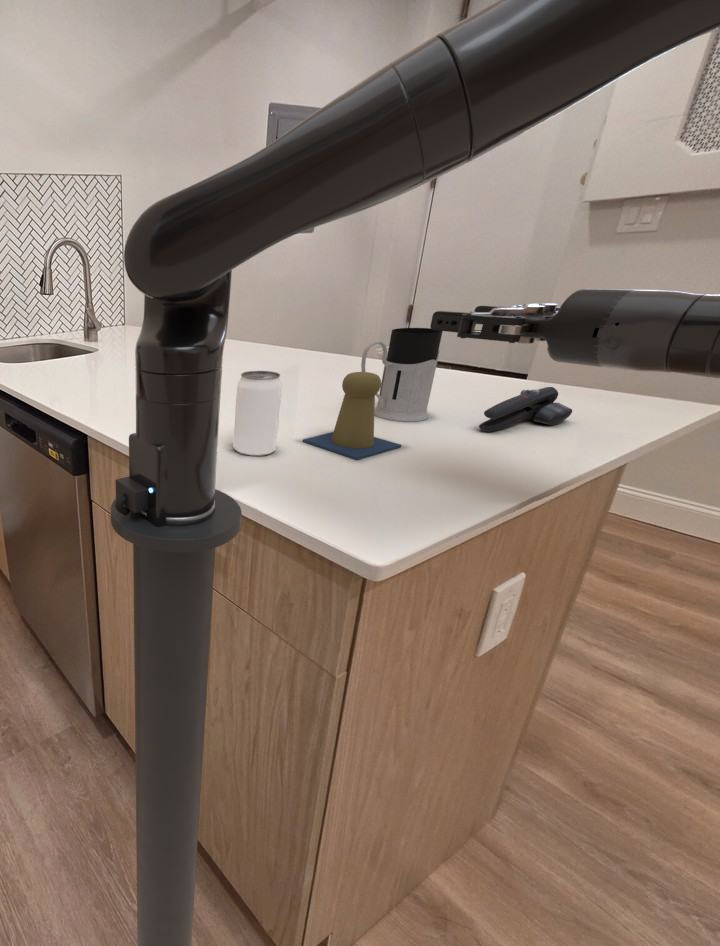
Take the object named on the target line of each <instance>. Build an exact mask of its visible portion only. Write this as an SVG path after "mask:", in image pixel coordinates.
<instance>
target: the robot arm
mask: <svg viewBox="0 0 720 946" xmlns="http://www.w3.org/2000/svg"><path fill="white" fill-rule="evenodd" d="M719 28H720V0H496V1H494V2H493V3H490V4H489V5H487V6H485V7H483V8H481V9H480V10H478V11H476V12H475V13H473V14H471V15H469V16H468V17H465V18H464V19H462V20H460V21H459V22H457V23H455V24H453V25H451V26H449V27H448V28H446V29H444V30H442V31H440V32H439V33H437V34H436V35H434V36H432V37H429V39H427V40H425V41H424V42H422V43H420V44H419V45H417V46H416V47H414V48H413V49H411V50H409V51H408V52H406V53H404V54H403V55H400V56H399V57H397V58H395V59H394V60H393V61H391V62H390V63H388V64H386V65H385V66H383V67H381V68H380V69H378V70H377V71H375V72H374V73H372V74H370V75H369V76H367V77H366V78H365V79H363V80H362V81H360V82H358V83H357V84H355V85H354V86H353V87H351V88H350V89H347V90H346V91H345V92H344V93H342V94H340V95H339V96H337V97H336V98H334V99H333V100H331V101H330V102H328V103H327V104H325V105H324V106H322V107H321V108H319V109H318V110H316V111H315V112H314V113H312V114H310V115H309V116H308V117H306V118H305V119H303V120H302V121H300V122H299V123H297V124H296V125H295V126H293V127H292V128H291V129H289V130H288V131H286V132H284V134H282V135H281V136H280V137H278V138H277V139H275V140H274V141H272V142H271V143H269V144H268V145H266V146H265V147H264V148H262V149H260V150H258V151H256V152H255V153H253V154H251V155H250V156H248V157H247V158H244V159H242V160H241V161H239V162H238V163H235V164H233V165H231V166H229V167H227V168H226V169H223V170H221V171H219V172H217V173H215V174H213V175H210V176H209V177H207V178H205V179H203V180H200V181H198V182H196V183H194V184H192V185H189V186H187V187H185V188H182V189H181V190H179V191H177V192H174V193H172V194H170V195H167V196H165V197H163V198H161V199H159V200H157V201H156V202H154V203H153V204H151V205H149V206H148V207H147V208H146V209H144V211H143V212H142V213H141V214H140V215H139V216H138V217H137V219H136V221H134V223H133V225H132V227H131V228H130V230H129V232H128V234H127V238H126V241H125V244H124V248H123V249H124V251H123V264H124V268H125V272H126V275H127V278H128V279H129V280H130V282H131V283H132V285H133V287H134V288H136V289H137V290H138V292H140V293H142V294H143V297H144V298H143V319H142V324H141V329H140V332H139V335H138V338H137V340H136V343H135V349H134V350H135V351H134V353H135V354H134V355H135V356H134V357H135V359H134V361H135V363H134V364H135V432H133V433H130V434H129V436H128V476H124V477H121V478H117V479H115V499H116V502H115V507H116V510H117V511H118V512H120V513H122V514H123V515H128V514H129V512H130V510H131V511H133V512H134V513H138V514H139V515H140V516H141V517H143V518H144V519H146V520H147V521H149V522H150V523H151V524H153V525H154V526H156V527H162V526H166V525H170V526H186V525H193V524H197V523H201V522H203V521H206V520H207V519H209V518H210V517H211V516H212V515H213V514H214V512H215V500H214V497H215V489H216V479H217V463H218V462H217V461H218V446H219V445H218V444H219V429H220V428H219V427H220V409H221V394H222V393H221V392H222V379H223V378H222V377H223V376H222V375H223V360H224V359H223V356H224V349H225V343H226V340H227V339H226V338H227V333H228V328H229V327H228V325H229V314H230V312H229V311H230V301H231V290H232V289H231V287H232V274H233V273H232V272H233V270H234V269H236V268H237V267H239V266H240V265H242V264H244V263H245V262H247V261H249V260H250V259H252V258H254V257H256V256H257V255H259V254H261V253H262V252H264V251H265V250H268V249H270V248H271V247H273V246H274V245H276V244H278V243H281V242H283V241H285V240H287V239H289V238H291V237H293V236H295V235H298V234H300V233H302V232H305V231H308V230H310V229H311V230H312V229H314V228H317V227H320V226H322V225H325V224H329V223H332V222H334V221H337V220H340V219H343V218H346V217H349V216H352V215H355V214H357V213H359V212H363V211H365V210H368V209H370V208H374V207H375V206H377V205H379V204H382V203H385V202H387V201H390V200H393V199H394V198H397V197H399V196H402V195H404V194H406V193H408V192H409V193H410V191H414V190H415V189H417V188H419V187H421V186H424V185H426V184H428V183H430V182H432V181H433V180H436V179H438V178H440V177H442V176H444V175H446V174H448V173H450V172H452V171H453V170H454V171H455V170H456V169H458V168H460V167H462V166H464V165H466V164H468V163H470V162H472V161H474V160H476V159H477V158H479V157H481V156H483V155H485V154H487V153H489V152H490V151H492V150H494V149H496V148H498V147H499V146H502V145H504V144H506V143H507V142H510V141H511V140H513V139H515V138H517V137H519V136H520V135H523V134H524V133H526V132H528V131H530V130H531V129H533V128H535V127H537V126H538V125H540V124H542V123H544V122H546V121H548V120H550V119H551V118H553V117H555V116H557V115H558V114H560V113H562V112H564V111H565V110H567V109H569V108H571V107H572V106H574V105H576V104H577V103H579V102H581V101H583V100H584V99H586V98H588V97H590V96H591V95H594V93H596V92H598V91H600V90H602V89H603V88H604V87H606V86H609V85H610V84H612V83H613V82H615V81H617V80H619V79H620V78H621V77H623V76H625V75H627V74H629V73H631V72H632V71H634V70H636V69H638V68H639V67H641V66H643V65H644V64H646V63H648V62H650V61H652V60H654V59H656V58H658V57H660V56H662V55H664V54H666V53H668V52H670V51H672V50H674V49H676V48H678V47H680V46H682V45H684V44H686V43H688V42H691V41H693V40H695V39H697V38H699V37H701V36H703V35H705V34H707V33H710V32H713V31H715V30H718V29H719ZM476 325H482V327H481V329H476ZM429 328H431V329H432V330H437V331H443V332H448V333H456V334H457V335H456V337H457V338H460V339H474V340H484V341H485V340H486V341H494V342H495V341H496V342H504V343H505V342H507V343H509V344H515V343H518V344H535V342H546V344H547V353H548V356H549V357H550V359H552V361H555V362H557V363H565V364H573V365H582V366H589V367H599V368H605V369H613V370H622V371H630V372H642V373H643V372H644V373H645V372H647V373H649V372H650V373H671V374H679V375H687V376H694V377H701V378H702V377H704V378H712V379H720V294H706V293H705V294H703V293H694V292H693V293H692V292H685V291H677V290H663V289H661V290H659V289H624V288H623V289H621V288H618V289H617V288H581V289H578V290H576V291H574V292H573V293H571V294H569V296H568V297H567V298H566V299H565V300H564V301H563V303H561V305H560V306H558V303H523V304H516V305H513V306H501V305H500V306H497V305H478V306H476V307H475V308H474V311H473V310H472V311H471V310H470V311H469V312H463V311H462V312H461V311H447V310H437V311H435V312H433V314H432V317H431V321H430V326H429ZM123 505H125V506H126V507H125V506H123ZM128 508H129V509H130V510H129V509H128Z"/></svg>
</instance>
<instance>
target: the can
mask: <svg viewBox="0 0 720 946" xmlns="http://www.w3.org/2000/svg"><path fill="white" fill-rule="evenodd" d="M282 390H283V384H282V382H281V374H280V372H276V371H271V370H248V371H243V372H242V373H241V374H240V379H239V381H238V382H237V385H236V394H235V395H236V396H235V408H234V409H235V410H234V411H235V412H234V426H233V441H232V448H233V449H234V450H235V452H237V453H238V454H241V455H245V456H250V457H263V456H269V455H271V454H273V453H274V451H276V448H277V442H278V441H277V439H278V431H279V430H278V429H279V422H280V413H281V412H280V411H281V403H282Z"/></svg>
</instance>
